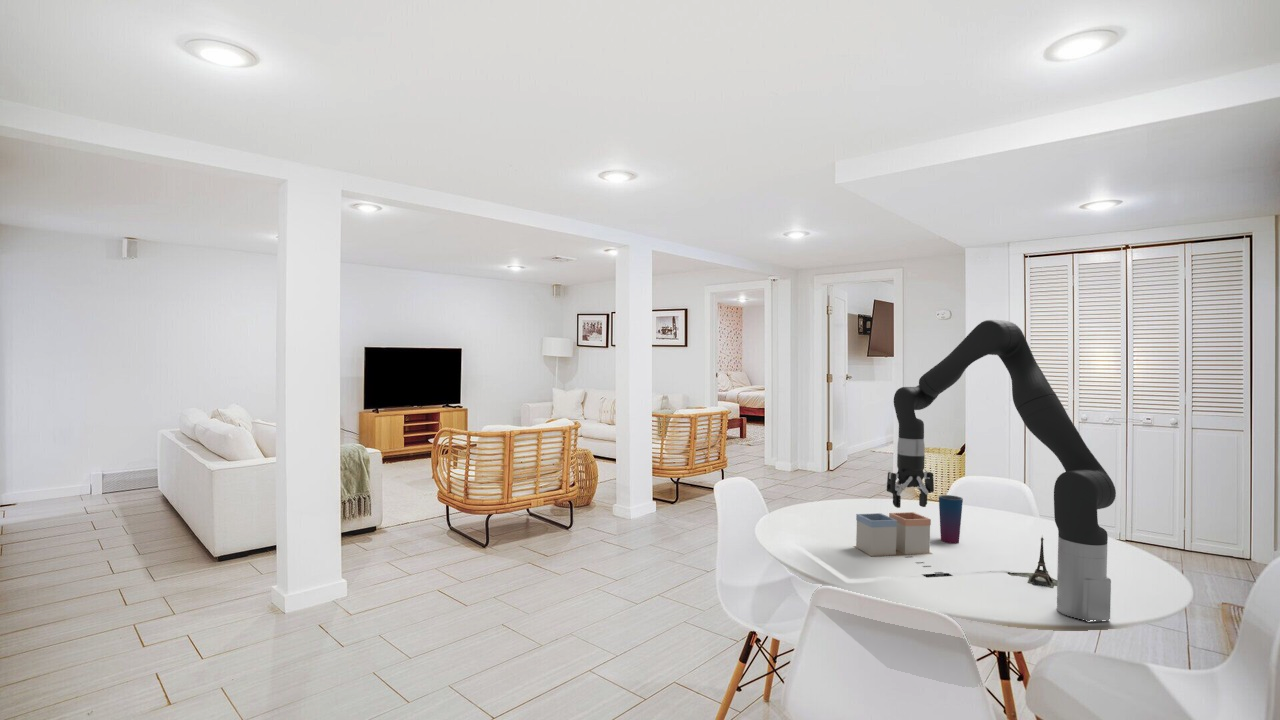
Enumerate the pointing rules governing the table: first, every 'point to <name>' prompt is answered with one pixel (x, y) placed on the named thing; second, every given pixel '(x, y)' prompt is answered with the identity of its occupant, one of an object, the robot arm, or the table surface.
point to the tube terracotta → (912, 533)
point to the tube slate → (876, 534)
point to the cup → (950, 518)
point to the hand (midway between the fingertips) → (909, 506)
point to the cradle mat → (934, 572)
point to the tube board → (893, 555)
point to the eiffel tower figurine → (1039, 573)
